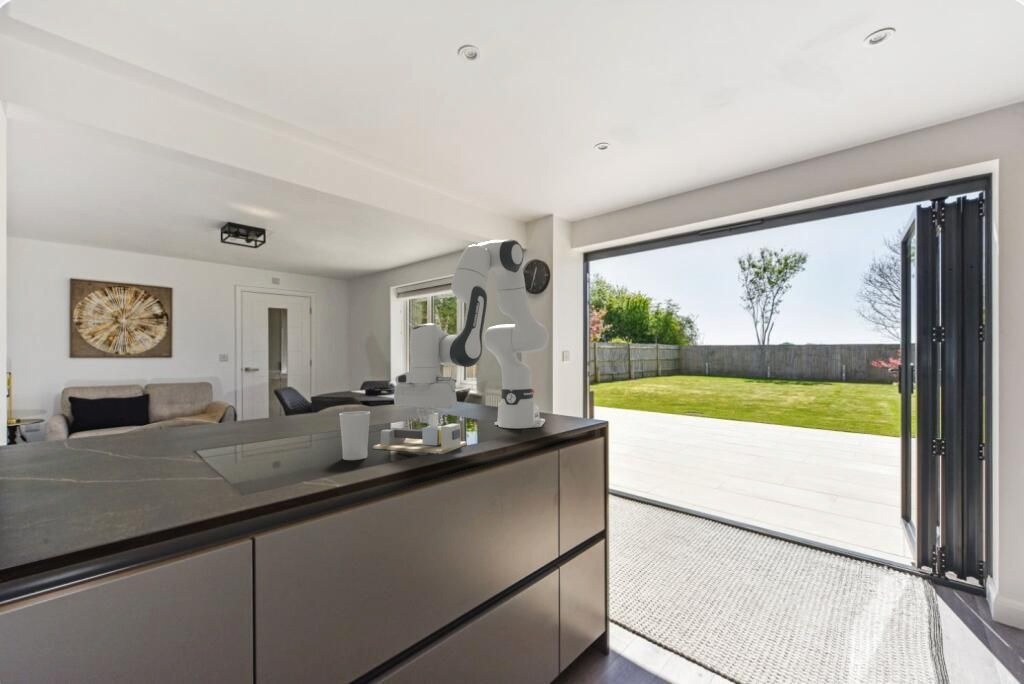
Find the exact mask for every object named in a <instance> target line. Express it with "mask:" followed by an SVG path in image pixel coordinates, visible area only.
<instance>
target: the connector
mask: <svg viewBox="0 0 1024 684" xmlns="http://www.w3.org/2000/svg"><path fill="white" fill-rule="evenodd" d="M441 426H442V427H441V448H452V447H455V446H457V445H460V444H461V441H462V440H461V437H462V436H461V434H462V433H461V423H448V424H446V425H441Z"/></svg>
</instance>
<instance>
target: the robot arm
mask: <svg viewBox="0 0 1024 684" xmlns="http://www.w3.org/2000/svg"><path fill="white" fill-rule="evenodd" d="M523 262H524V250H523V247H522V246H521V243H519V242H518V240H515V239H507V238H506V239H493V240H490V241H484V242H478V243H474V244H472V245H468V246H466V248H465V249H464V250H463V252H462V253H461V255H460V257H459V260H458V261H457V263H456V264H457V265H456V266H455V270H454V273H453V277H452V280H451V284H450V285H451V291H452V294H453V295H454V297H455V298H457V299H458V300H460V301H461V302H462V303H465V305H466V309H465V310H466V311H465V314H464V319H463V320H464V321H463V326H462V330H461V331H460V332H458V333H457V334H449V333H448V332H446V331H445V330H442V329H441V328H440V327H438V325H437V323H434V322H433V323H432V322H430V323H422V324H416V325H415V326H413V327H412V329H411V332H410V335H409V337H410V338H409V356H410V364H409V371H408V372H407V371H406V372H404V373H402V374H399V375H396V376H395V383H396V385H395V386H394V393H393V395H394V397H393V403H394V405H395V407H397V408H413V409H415V411H416V414H417V415H418V418H419V424H429V414H433V413H435V409H443V410H448V409H449V410H450V409H455V407H457V404H458V401H457V391H456V387H457V386H456V381H455V379H453V378H452V377H451V376H447V377H445V376H440V371H441V370H440V368H441V367H440V365H442V366H458V367H465V368H469V367H474V366H475V365H476V364H477V363H478V362H479V360H480V359H481V357H482V353H483V344H484V347H485V348H486V349H487V350H488V351H489V352H490V353H492V354H493V356H494V357H495V358H496V360H497V361H498V364H499V366H500V371H501V385H502V388H501V390H500V397H501V401H500V402H499V403H498V405H497V421H494V426H497V425H498V427H499V428H502V429H503V428H504V429H530V428H531V429H532V428H541V427H542V426H543V425H544V424H545V423H546V419H544V418H540V407H539V406H538V404H537V403H536V401H535V399H534V394H535V388H532V371H531V368H530V366H529V365H528V364H527V363H525V362H523V361H521V360H519V359H518V356H517V353H535V352H536V353H537V352H540V351H543V350H545V349H546V348H547V346H548V345H549V341H550V334H549V330H548V328H547V327H546V326H545V325H544V324H542V323H541V322H539V321H538V320H537V319H536V318H535V316H534V315H533V314H532V312H531V310H530V308H529V303H528V297H527V292H526V291H527V290H526V281H525V275H524V271H523V267H522V265H523ZM492 273H494V275H495V291H496V292H495V293H496V300H497V308H498V310H499V312H500V313H502V314H503V315H505V316H507V317H509V318H510V319H511V321H513V323H510V324H498V325H493V326H489V327H487V328H486V330H485V331H484V324H485V317H486V312H487V311H486V310H487V305H488V293H486V284H487V281H488V279H489V274H492ZM483 331H484V334H483ZM425 409H426V412H427V414H426V416H425V414H424V411H425Z"/></svg>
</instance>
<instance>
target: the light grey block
mask: <svg viewBox="0 0 1024 684" xmlns="http://www.w3.org/2000/svg"><path fill="white" fill-rule="evenodd" d="M393 428H400V429H406V426H395V427H393ZM403 440H406V438H394V430H390V429H387V428H386V429H382V430H380V444H386V445H390V444H393V443H396V442H400V441H403Z"/></svg>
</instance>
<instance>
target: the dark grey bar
mask: <svg viewBox="0 0 1024 684" xmlns="http://www.w3.org/2000/svg"><path fill="white" fill-rule="evenodd" d="M389 430H394V438H409V439H422V429H416V428H415V429H413V428H405V429H400V428H394V427H392V428H391V429H389ZM438 440H439V443H441V429H440V430H439V431H438Z"/></svg>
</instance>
